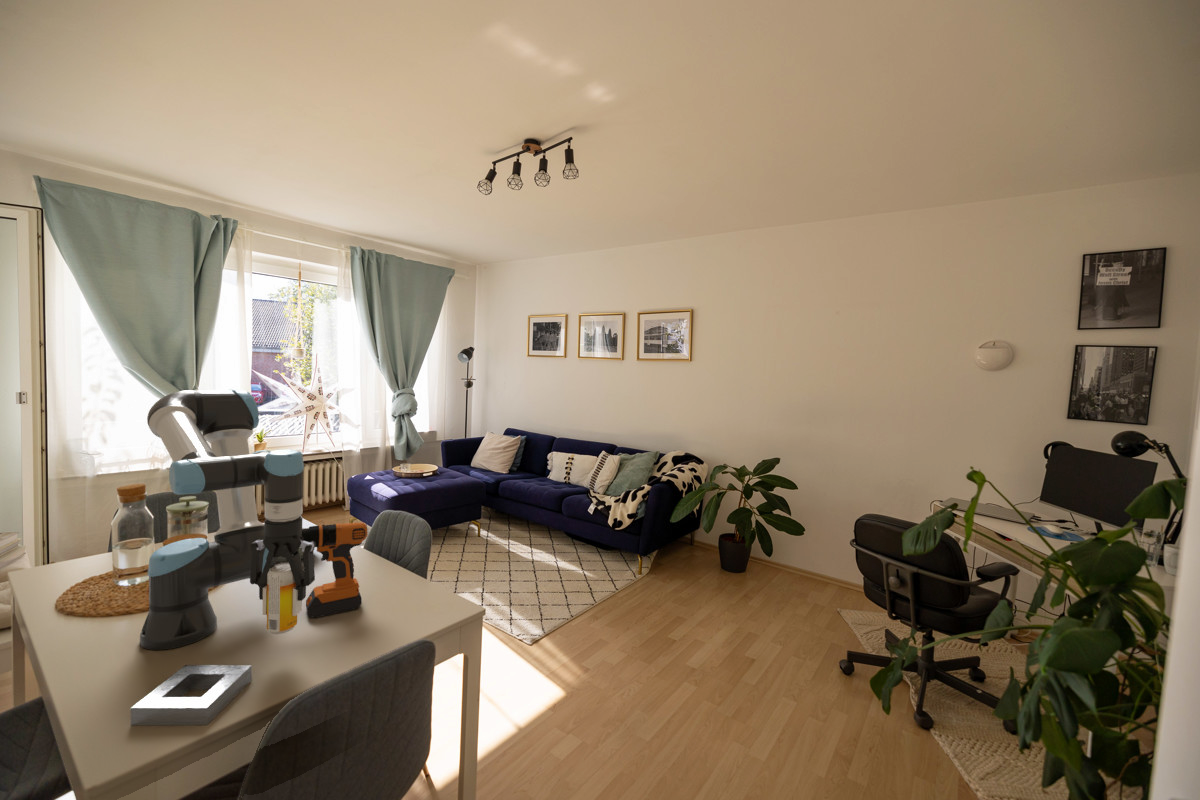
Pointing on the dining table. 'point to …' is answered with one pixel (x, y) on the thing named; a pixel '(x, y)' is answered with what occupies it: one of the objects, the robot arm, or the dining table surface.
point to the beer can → (280, 599)
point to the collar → (178, 710)
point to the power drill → (335, 567)
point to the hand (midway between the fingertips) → (282, 612)
